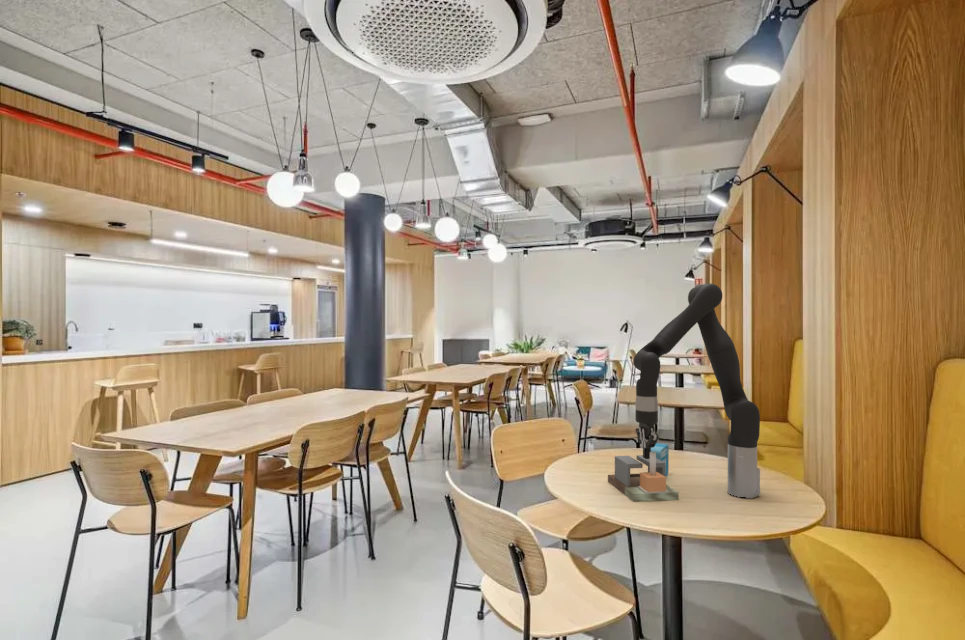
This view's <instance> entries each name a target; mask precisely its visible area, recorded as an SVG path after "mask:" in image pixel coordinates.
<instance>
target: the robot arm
mask: <svg viewBox="0 0 965 640" xmlns="http://www.w3.org/2000/svg"><path fill="white" fill-rule="evenodd" d="M722 300H723V292H722V289H721V288H720V287H719V285H717V284H715V283H704V284H700V285H696V286H694V287H693V288H691V289H690V290H689V292H688V294H687V302H688V305H687V307H685V308H684V310H682V312H680V313H679V314H678V315H677V316H676V317H674V318H672V320H671V321H670V322H668V323H666V325H664V327H663V328H662V329H661V330H660V331H659V332H658V333H657V334H656V335H655V337H654V338H653V339H652V340H650V341H649V342H648V343H647V344H645V345H644V346H643V347H642V348H640V349H639V350H638V351H637V352H636V354H635V355H634V357H633V361H632V362H633V366H634V367H635V369H636V370H638V371H639V373H640V375H639V379H637V380H636V384H635V403H634V404H635V405H634V406H635V415H634V416H635V419H634V420H635V422H637V423H639V424H638V427H637V428H635V433H636V436H637V440H638V443H639V444H640V445H641V447H642V455H643V458H645V459H650V452H651V448H652V447H655V444H656V443H657V442H658V440H659V434H656V432H655V431H656V428H655V424H657V423H659V401H658V381H659V377H660V372H661V361H660V357H662V356H664V355H667V354H668V353H670V352H671V351H672V350H673V349H674V348H675V347H676V346H677V344H678V343H680V341H681V340H682V339H684V337H685V336H686V334H687V333H688V332H689V331H690V330H691V329H692V328H693V327H695V325H696V324H697V325H698V327H699V331H700V335H701V337H702V341H703V345H704V347H705V350H706V354H707V357H708V360H709V362H710V365H711V368H712V372H713V374H714V376H715V380H716V381H717V383H718V386H719V389H720V392H721V393H720V395H721V397H722V398H721V399H722V402H723V407H724V412H725V415H726V417H727V418H728V420H729V421H730V430H729V431H730V433H729V434H728V435H727V493H728V494H729V495H730V494H731V496H733V495H734V496H733V497H736V496H737V498H740V497H746V498H745V499H753V498H752V497H756V496H758V495H760V496H761V474H760V473H761V469H760V468H759V467H758V440H760V432H761V431H760V427H761V424H760V423H761V414H760V409H759V408H758V406H757V405H756V404H755V403H754V402H752V401H751V400H749V399H748V397H747V395H746V393H745V390H744V388H743V385H742V380H741V368H740V367H741V365H740V360H739V356H738V353H737V349H736V346H735V344H734V342H733V339H732V337H730V335H729V334H728V333H727V331H726V330H725V329H724V327H723V325H721V323H720V321H719V319H718V316H717V313H716V311H715V310H716V308H717V307H718V306H719V305H720V304H721V302H722ZM758 497H759V496H758ZM756 498H757V497H756Z"/></svg>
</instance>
